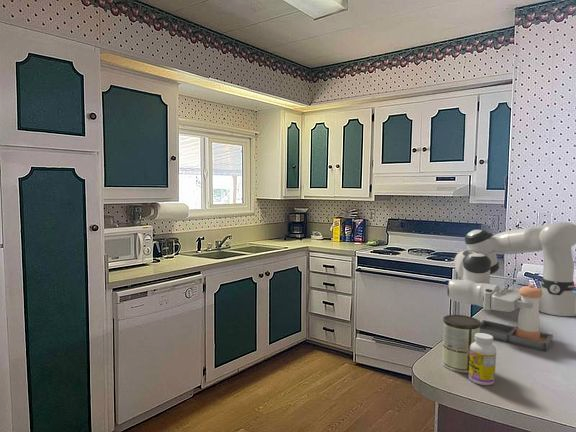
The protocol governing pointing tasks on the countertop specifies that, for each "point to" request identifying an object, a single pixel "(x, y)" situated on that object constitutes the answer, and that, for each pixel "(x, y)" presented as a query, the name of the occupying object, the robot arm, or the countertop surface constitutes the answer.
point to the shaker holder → (514, 335)
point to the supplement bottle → (482, 360)
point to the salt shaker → (529, 314)
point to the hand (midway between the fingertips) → (534, 304)
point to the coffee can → (458, 341)
